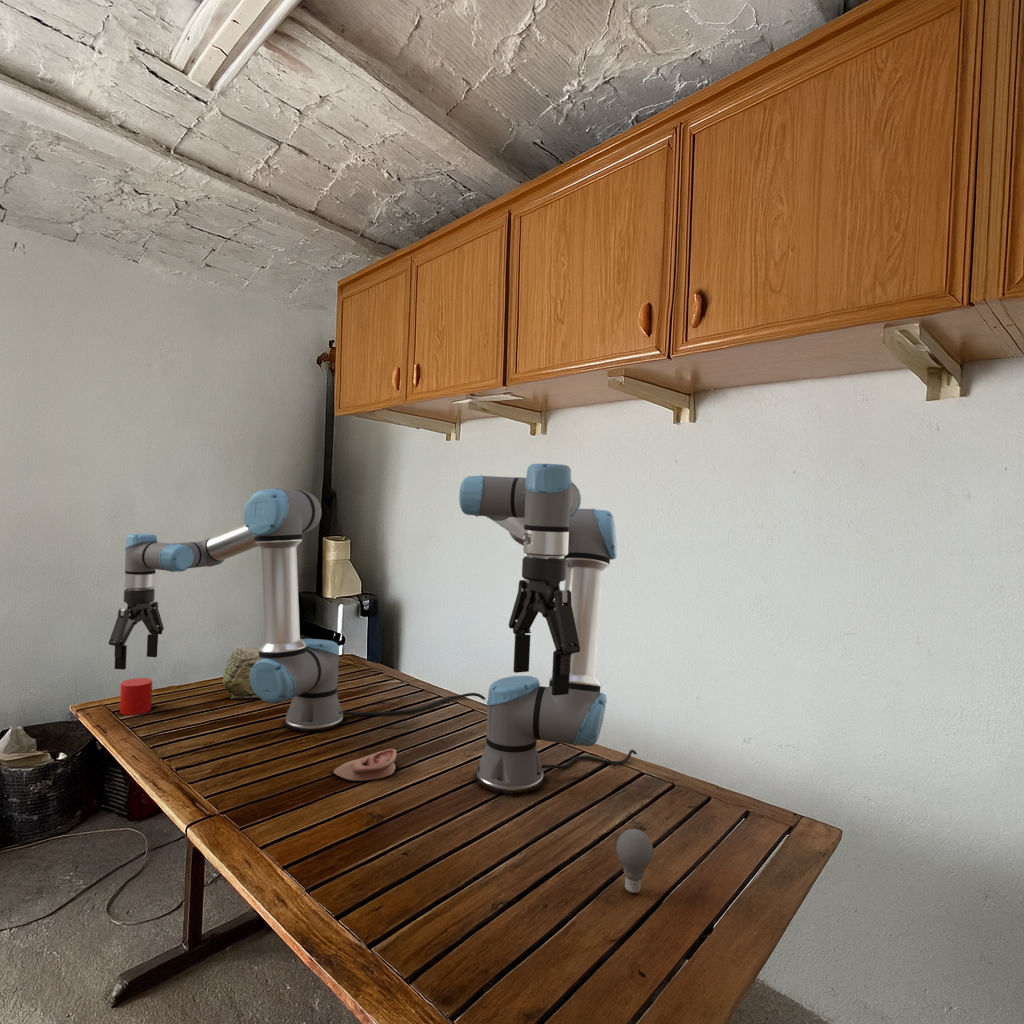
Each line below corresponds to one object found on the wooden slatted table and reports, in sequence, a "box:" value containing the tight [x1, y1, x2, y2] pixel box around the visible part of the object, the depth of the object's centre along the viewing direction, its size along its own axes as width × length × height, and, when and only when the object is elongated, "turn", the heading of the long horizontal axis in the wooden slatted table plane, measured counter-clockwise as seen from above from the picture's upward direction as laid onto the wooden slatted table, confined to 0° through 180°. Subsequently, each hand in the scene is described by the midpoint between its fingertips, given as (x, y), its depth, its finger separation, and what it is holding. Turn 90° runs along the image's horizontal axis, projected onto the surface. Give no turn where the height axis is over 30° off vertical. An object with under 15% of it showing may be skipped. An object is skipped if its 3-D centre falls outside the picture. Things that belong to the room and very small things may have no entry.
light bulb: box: [615, 828, 654, 894], centre depth 106 cm, size 6×6×10 cm
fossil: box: [222, 646, 260, 699], centre depth 198 cm, size 9×18×15 cm, turn 132°
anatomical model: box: [333, 748, 397, 782], centre depth 147 cm, size 13×4×12 cm
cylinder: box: [119, 677, 153, 716], centre depth 180 cm, size 8×8×8 cm
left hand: (136, 662), depth 180 cm, fingers open, 13 cm apart
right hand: (539, 682), depth 106 cm, fingers open, 13 cm apart
